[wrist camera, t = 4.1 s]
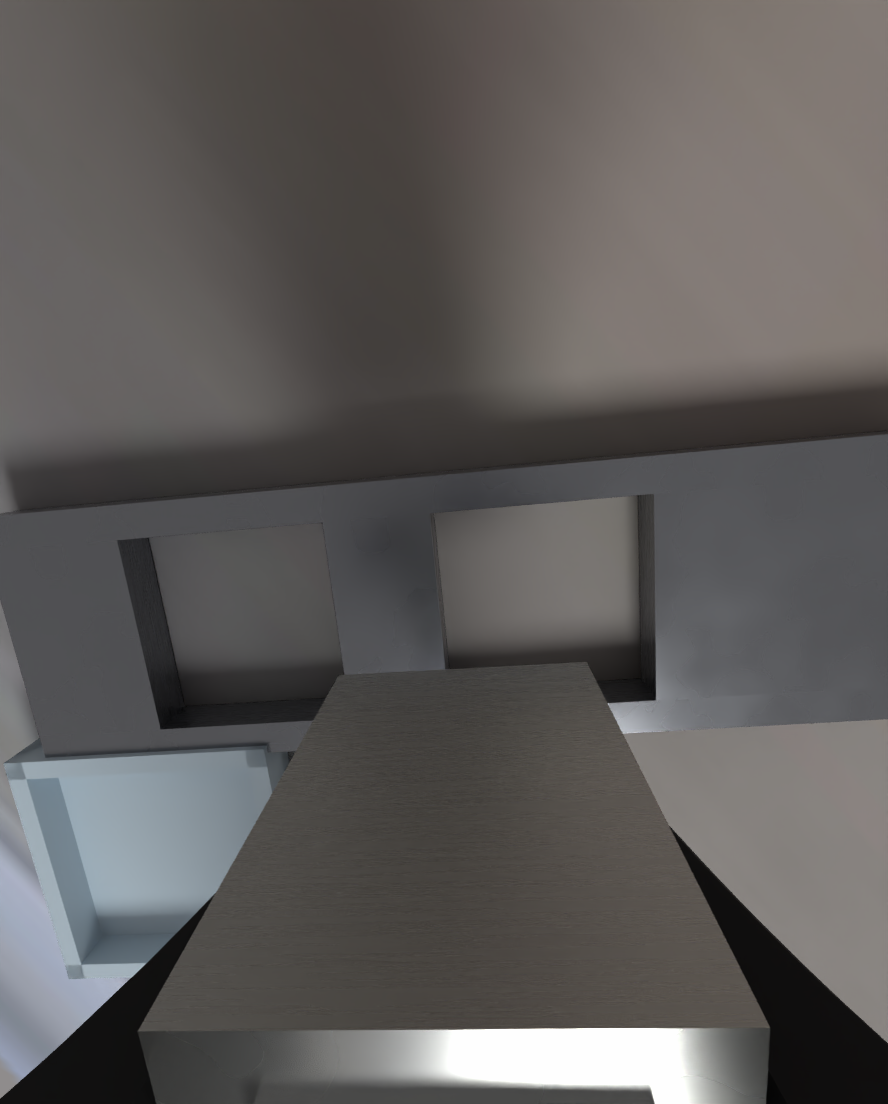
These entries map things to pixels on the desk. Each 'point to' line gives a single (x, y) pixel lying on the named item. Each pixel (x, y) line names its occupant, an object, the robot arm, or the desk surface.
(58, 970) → the desk surface
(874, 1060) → the robot arm
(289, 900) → the grey rectangular block
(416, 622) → the rail
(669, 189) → the desk surface
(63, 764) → the parts tray
